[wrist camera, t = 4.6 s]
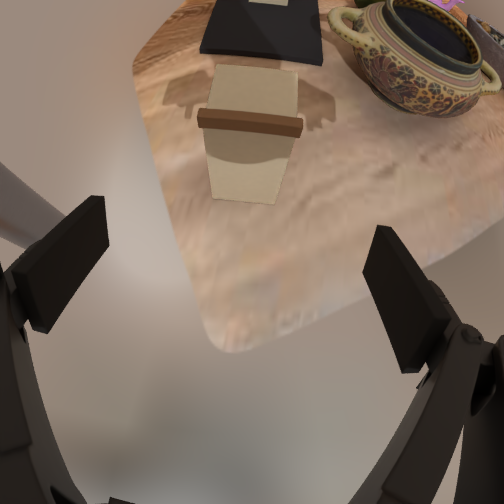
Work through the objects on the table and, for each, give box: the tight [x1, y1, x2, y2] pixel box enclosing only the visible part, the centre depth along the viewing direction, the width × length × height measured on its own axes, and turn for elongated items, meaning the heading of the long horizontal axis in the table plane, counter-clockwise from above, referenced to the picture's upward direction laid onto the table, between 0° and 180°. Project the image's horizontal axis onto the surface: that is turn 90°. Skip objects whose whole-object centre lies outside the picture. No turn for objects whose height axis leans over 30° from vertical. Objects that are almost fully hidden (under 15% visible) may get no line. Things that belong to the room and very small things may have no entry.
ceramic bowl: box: [327, 0, 502, 118], centre depth 30 cm, size 24×18×15 cm
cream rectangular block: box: [197, 64, 303, 205], centre depth 25 cm, size 6×6×13 cm
